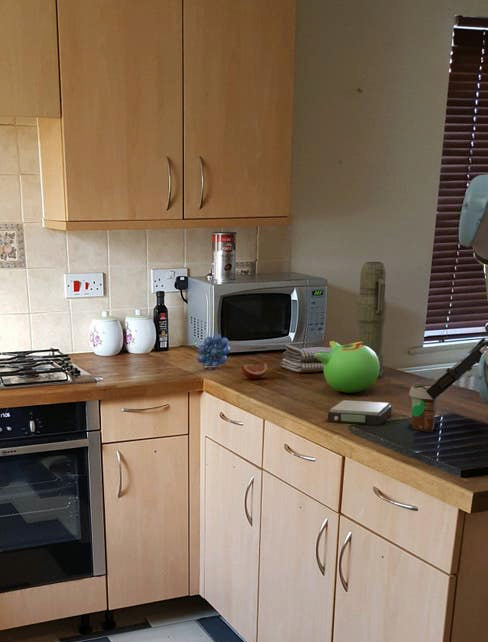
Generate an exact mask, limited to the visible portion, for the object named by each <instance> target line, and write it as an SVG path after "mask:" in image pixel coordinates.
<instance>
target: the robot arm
mask: <svg viewBox="0 0 488 642" xmlns="http://www.w3.org/2000/svg"><path fill="white" fill-rule="evenodd" d="M459 217H460V218H459V224H458V225H459V227H458V241H459V244H460V245H461V246H464V247H466V248H470V247H472V251H473V252H472V253H473V257H474V258H475V260H476V261H477V262H478V263H479V264H481V265H482V266H483V271H484V279H485V289H486V298H487V300H486V301H488V174H487V173H486V174H479V175H477V176H475V177H474V178H472V180H470V182H469V185H468V187H467V189H466V192H465V194H464V198H463V203H462V207H461V212H460V216H459ZM484 330H485V332H486V334H487V335H488V322H487V323H486V324H485V325H484ZM467 353H468V354H467V355H464V357H463V358H462V359H461V360H460V361H458V362H456V364H455V365H453V366H452V367H451V368H449V367H448V368H447V369H446V370H445V373H444V374H443V375H442V376H441V377H440V378H438V379H437V381H435V382H436V383H435V384H434V385H432V386H431V387H430V388H429V389H428V390H427V391H426V392H427V393H428V394H429V395H430V396H431V398H432V399H433V400H434V399H435V398H437V399H438V397H439V396H440V395H442V394H443V393H444V392H445V391H446V390H447V389H448V388H449V387H451V386H452V385H453V384H455V382H457V381H458V380H459V379H460V378H461V377H463V376H464V374H466V373H468V372H470V371H471V370H473V367H474V366H475V365H476V364H478V368H477V389H478V392H479V393H478V394H479V396H480V398H481V400H482V402H483V403H484V404H486V405H487V406H488V337H487V338H485V337H482V338H481V339H480V340H479V341H478V342H477V343H476V344H475V345H474V346H473V347H472V348H471V349H470V350H469V351H468V352H467Z"/></svg>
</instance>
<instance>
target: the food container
mask: <svg viewBox="0 0 488 642" xmlns="http://www.w3.org/2000/svg"><path fill="white" fill-rule="evenodd" d="M436 382H437V381H424V382H423V381H422V382H417V383H413V384H412V385H411V387H410V389H409V393H408V394H409V396H410V397H411V428H412V429H413V430H415V431H420V432H427V433H433V431H434V427H435V424H436V411H437V399H438V397H437V398H435V399H434V400H433V399H432V398H431V396H430V395H429V394H428V393H427V392H426V391H427V390H428V389H429V388H430V387H431V386H432V385H434V384H435V383H436Z"/></svg>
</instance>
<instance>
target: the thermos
mask: <svg viewBox="0 0 488 642" xmlns="http://www.w3.org/2000/svg"><path fill="white" fill-rule="evenodd" d="M386 275H387V272H386V268H385V263H384V262H382V261H366V262H365V263H363V265H362V267H361V270H360V277H359V297H358V299H357V302H356V321H357V333H356V334H357V337H356V338H357V340H356V343H357V342H363V343H362V344H361V345H364V346H367V347H369V348H370V349H372V350H373V351H374V352H375V354H376V355H377V357H378V360H379V364H380V371H379V375H378V378H382V377H383V369H384V358H385V357H384V353H383V342H384V341H383V339H384V323H385V321H386V312H387V300H386V294H385V293H386ZM378 378H377V379H378Z"/></svg>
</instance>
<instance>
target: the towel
mask: <svg viewBox="0 0 488 642" xmlns="http://www.w3.org/2000/svg"><path fill="white" fill-rule="evenodd" d="M283 348H284V350H285V351H284V352H283V353H282V354H283V356H284V357H283V358H282V359H281V361H282V362H280V367H281V368H283V369H287V370H289V371H291V372H295V373H300V374H301V373H302V374H303V373H305V374H306V373H319V372H324V363H323V362H321V361H320V360H318V359H317V358H316V357H315V356H314V355H315V353H330V352H331V351H332V350H331V347H325V346H316V347H315V346H312V347H301V348H299V347H298V348H297V347H296V346H294V345H291V344H288V343H285V345H284V346H283ZM281 364H284V365H281ZM285 365H287V366H285Z"/></svg>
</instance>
